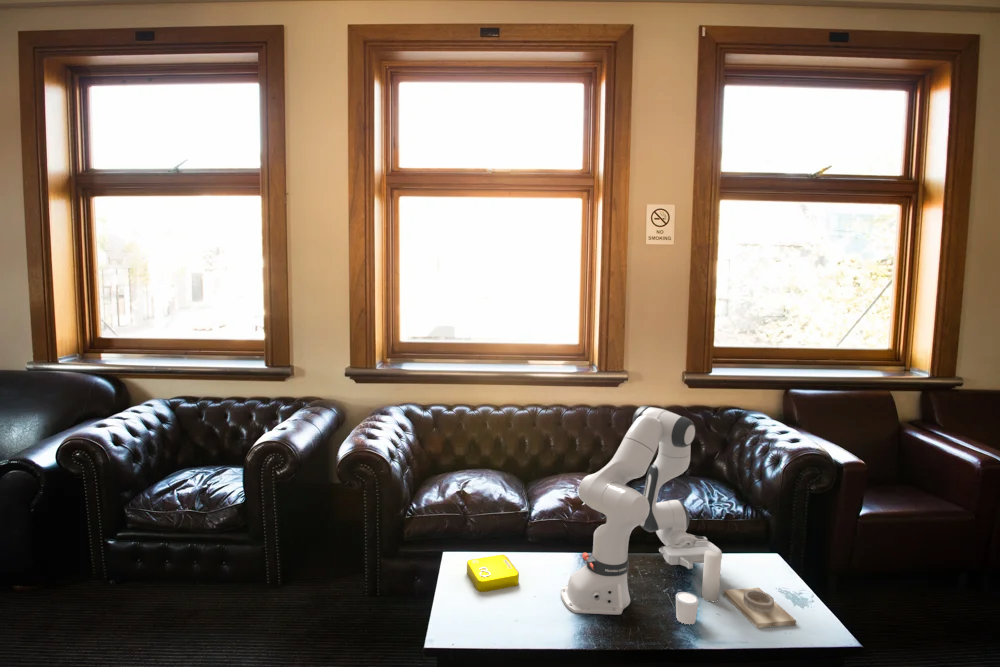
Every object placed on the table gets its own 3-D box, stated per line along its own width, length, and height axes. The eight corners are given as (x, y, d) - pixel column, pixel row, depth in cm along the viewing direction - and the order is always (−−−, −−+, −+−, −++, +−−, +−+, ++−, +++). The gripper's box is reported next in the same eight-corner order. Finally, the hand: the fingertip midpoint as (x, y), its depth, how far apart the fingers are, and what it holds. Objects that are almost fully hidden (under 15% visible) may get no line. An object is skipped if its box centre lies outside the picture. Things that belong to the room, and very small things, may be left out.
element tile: (520, 586, 186) (521, 573, 185) (478, 594, 181) (478, 580, 180) (504, 564, 200) (504, 552, 199) (465, 571, 194) (465, 558, 194)
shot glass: (694, 613, 173) (695, 592, 172) (700, 627, 166) (701, 605, 165) (672, 611, 173) (673, 590, 173) (676, 625, 166) (678, 603, 166)
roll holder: (757, 628, 166) (758, 615, 166) (723, 594, 184) (724, 583, 183) (795, 624, 168) (796, 612, 168) (758, 591, 186) (759, 580, 185)
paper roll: (706, 602, 179) (709, 558, 177) (698, 593, 184) (701, 550, 182) (721, 601, 180) (724, 557, 178) (712, 592, 185) (715, 549, 183)
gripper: (657, 539, 197) (675, 558, 183) (709, 536, 200) (731, 555, 187) (656, 556, 197) (674, 576, 184) (708, 553, 201) (730, 572, 187)
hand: (703, 565), depth 185 cm, fingers open, 8 cm apart
